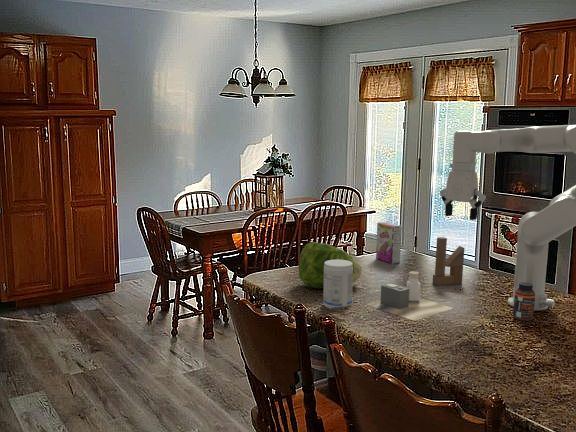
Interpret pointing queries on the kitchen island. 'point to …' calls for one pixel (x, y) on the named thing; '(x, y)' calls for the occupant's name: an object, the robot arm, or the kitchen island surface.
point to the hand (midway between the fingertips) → (460, 217)
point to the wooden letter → (448, 264)
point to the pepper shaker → (413, 286)
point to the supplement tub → (338, 283)
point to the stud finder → (394, 296)
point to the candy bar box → (388, 242)
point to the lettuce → (321, 263)
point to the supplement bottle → (524, 302)
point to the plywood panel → (414, 309)
